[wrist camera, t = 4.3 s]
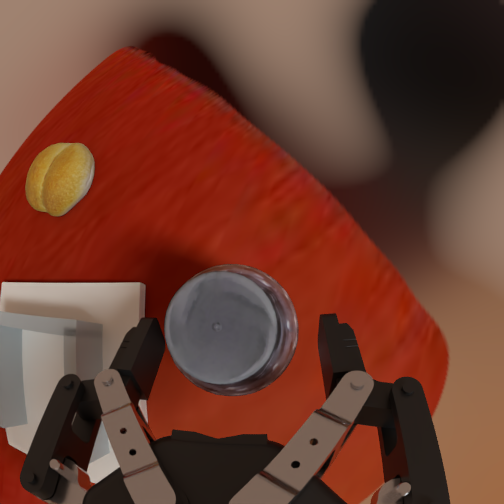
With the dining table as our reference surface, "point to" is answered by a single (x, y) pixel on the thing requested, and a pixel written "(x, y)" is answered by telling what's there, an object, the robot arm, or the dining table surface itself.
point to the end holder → (60, 350)
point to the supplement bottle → (231, 329)
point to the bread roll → (59, 178)
